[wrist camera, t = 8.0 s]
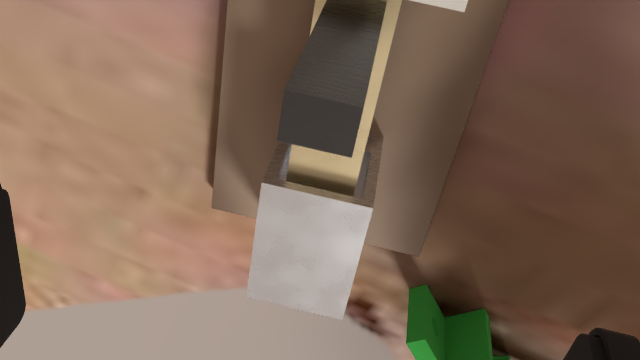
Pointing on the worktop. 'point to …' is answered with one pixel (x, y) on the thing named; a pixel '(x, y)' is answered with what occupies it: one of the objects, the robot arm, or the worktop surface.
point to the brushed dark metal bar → (336, 92)
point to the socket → (446, 4)
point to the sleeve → (310, 237)
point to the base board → (389, 116)
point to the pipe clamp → (446, 331)
